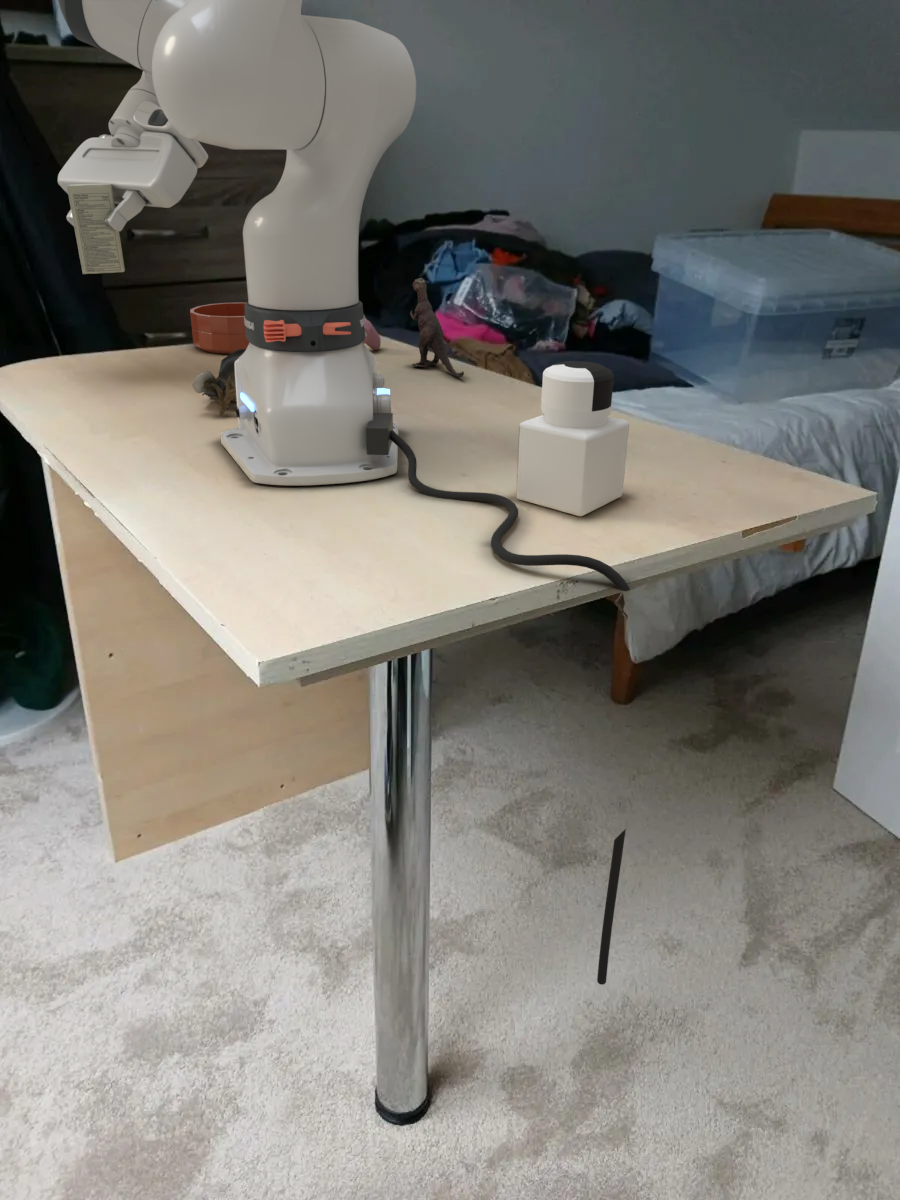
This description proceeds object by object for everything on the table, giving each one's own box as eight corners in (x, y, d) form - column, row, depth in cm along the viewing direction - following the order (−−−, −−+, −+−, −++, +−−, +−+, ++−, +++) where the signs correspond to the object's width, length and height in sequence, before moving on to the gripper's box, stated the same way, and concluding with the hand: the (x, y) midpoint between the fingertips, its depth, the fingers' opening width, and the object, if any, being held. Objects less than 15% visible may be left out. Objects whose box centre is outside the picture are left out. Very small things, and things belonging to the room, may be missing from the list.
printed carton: (124, 268, 120) (113, 182, 115) (125, 273, 116) (113, 184, 112) (81, 270, 118) (67, 182, 114) (80, 274, 115) (66, 184, 110)
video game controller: (315, 358, 145) (304, 320, 139) (325, 340, 147) (315, 301, 142) (375, 363, 142) (366, 324, 137) (384, 344, 145) (376, 305, 139)
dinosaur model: (421, 274, 132) (483, 295, 121) (422, 357, 138) (481, 384, 127) (396, 277, 130) (457, 298, 119) (398, 361, 136) (456, 389, 125)
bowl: (284, 353, 141) (282, 315, 138) (193, 356, 138) (189, 318, 136) (278, 336, 152) (276, 301, 150) (194, 339, 149) (190, 303, 147)
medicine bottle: (558, 480, 90) (566, 353, 85) (623, 497, 86) (636, 364, 81) (514, 499, 85) (520, 365, 80) (581, 518, 81) (592, 378, 76)
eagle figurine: (270, 406, 109) (274, 374, 116) (230, 357, 105) (237, 327, 112) (218, 439, 110) (225, 406, 118) (176, 392, 107) (187, 361, 114)
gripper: (78, 116, 120) (23, 202, 117) (185, 115, 109) (126, 211, 106) (113, 154, 125) (61, 238, 122) (218, 158, 115) (163, 249, 112)
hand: (92, 225), depth 114 cm, fingers closed on printed carton, 6 cm apart
